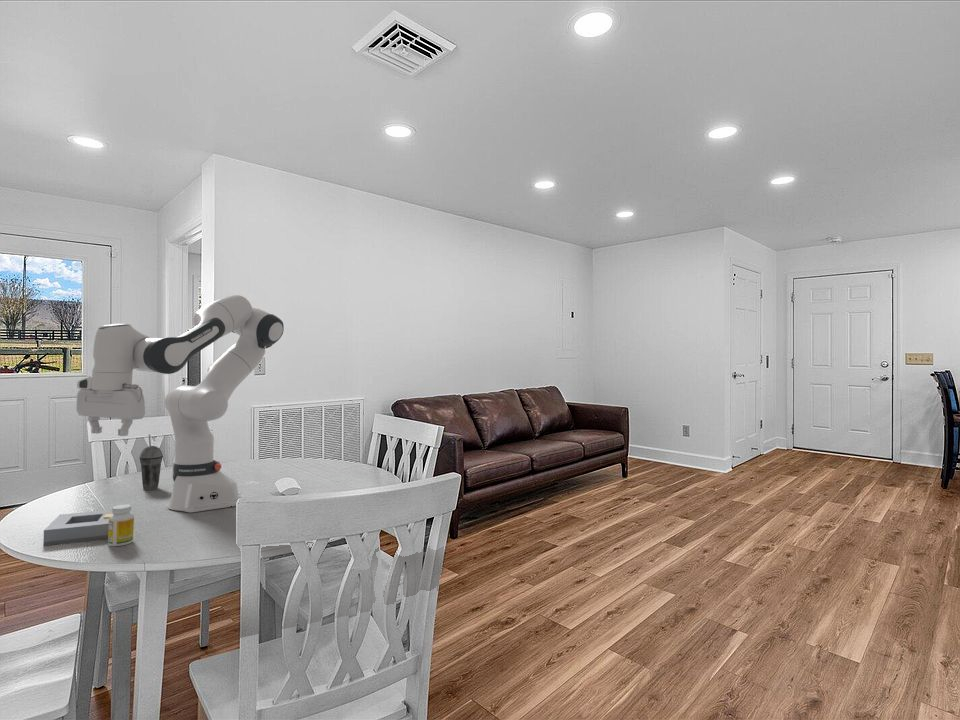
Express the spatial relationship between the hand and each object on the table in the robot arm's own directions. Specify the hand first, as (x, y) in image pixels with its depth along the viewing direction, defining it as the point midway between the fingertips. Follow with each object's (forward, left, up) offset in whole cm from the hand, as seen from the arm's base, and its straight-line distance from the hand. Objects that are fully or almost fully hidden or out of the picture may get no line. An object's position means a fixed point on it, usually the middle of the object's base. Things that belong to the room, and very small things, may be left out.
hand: (109, 434), depth 136 cm
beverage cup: (-4, -52, -28) cm, 59 cm away
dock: (+6, -5, -28) cm, 29 cm away
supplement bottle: (-4, +7, -28) cm, 29 cm away
